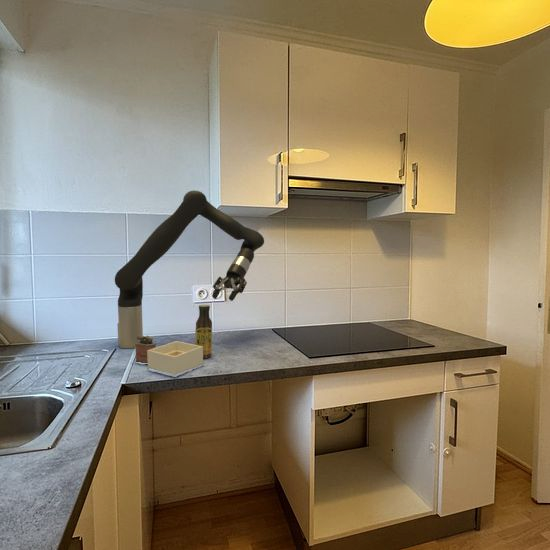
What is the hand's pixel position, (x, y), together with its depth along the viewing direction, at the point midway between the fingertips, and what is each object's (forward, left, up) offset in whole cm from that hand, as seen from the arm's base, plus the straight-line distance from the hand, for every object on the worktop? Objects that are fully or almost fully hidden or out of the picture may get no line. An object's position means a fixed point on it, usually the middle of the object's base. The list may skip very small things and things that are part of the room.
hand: (222, 298), depth 135 cm
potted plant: (-13, -27, -21) cm, 37 cm away
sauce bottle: (0, -11, -21) cm, 24 cm away
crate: (0, -25, -21) cm, 33 cm away
